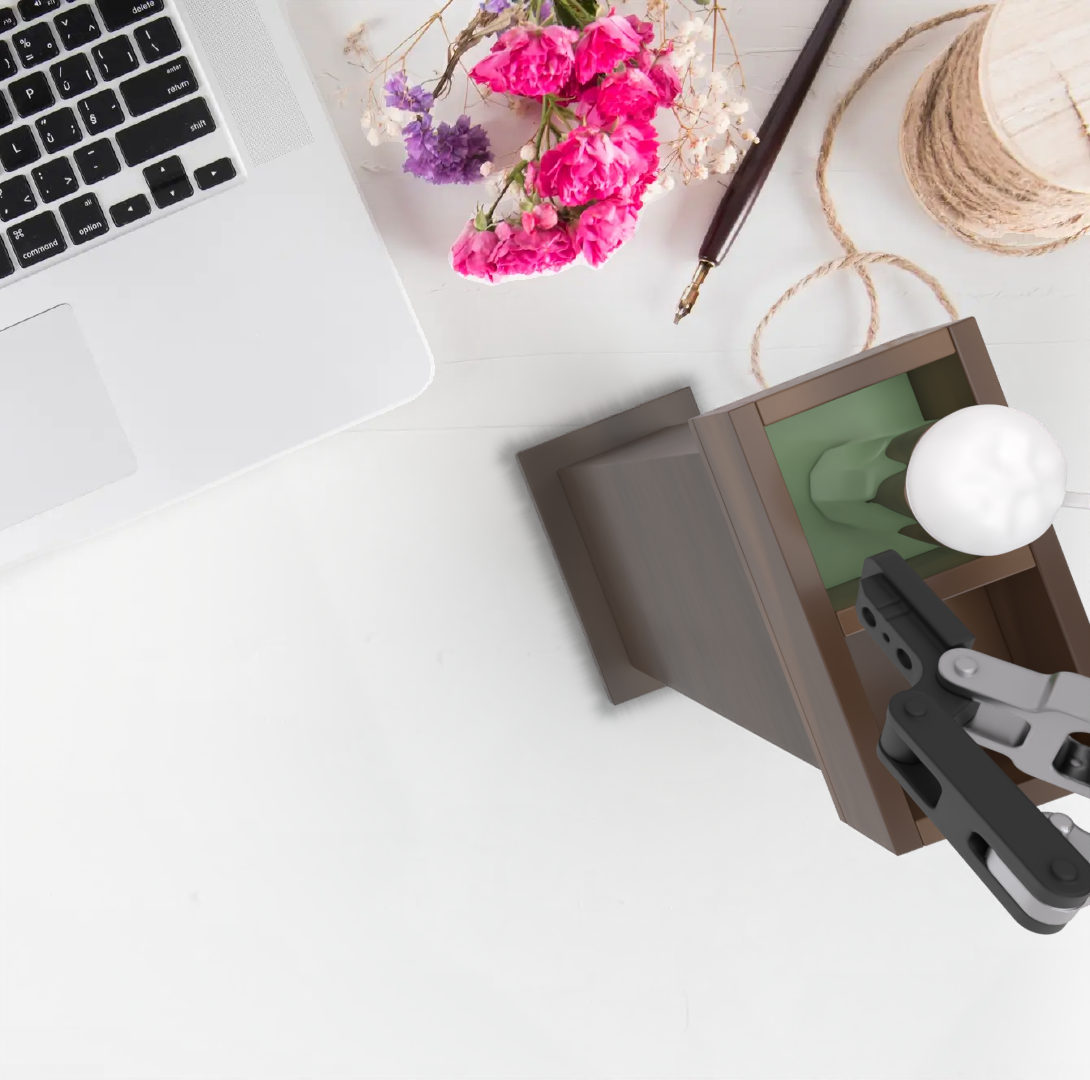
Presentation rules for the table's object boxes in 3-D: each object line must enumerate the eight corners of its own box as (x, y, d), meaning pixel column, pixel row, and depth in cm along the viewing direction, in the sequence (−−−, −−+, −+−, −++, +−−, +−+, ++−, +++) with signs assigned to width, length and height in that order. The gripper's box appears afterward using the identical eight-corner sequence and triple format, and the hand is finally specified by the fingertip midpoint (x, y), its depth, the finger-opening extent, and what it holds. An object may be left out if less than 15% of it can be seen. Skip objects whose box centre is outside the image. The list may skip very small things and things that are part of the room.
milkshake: (913, 562, 39) (1116, 584, 29) (775, 525, 39) (929, 535, 29) (948, 447, 39) (1164, 429, 29) (809, 411, 39) (976, 380, 29)
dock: (907, 334, 39) (975, 314, 35) (1060, 740, 40) (1145, 768, 35) (686, 420, 40) (727, 411, 36) (839, 820, 40) (897, 856, 36)
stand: (684, 387, 67) (940, 307, 39) (781, 639, 67) (1103, 738, 39) (513, 453, 68) (645, 422, 40) (610, 703, 68) (807, 845, 40)
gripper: (2230, 892, 16) (1297, 334, 27) (1342, 1179, 17) (790, 524, 28) (1841, 1026, 22) (1195, 514, 33) (1183, 1239, 22) (773, 669, 34)
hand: (1008, 519), depth 30 cm, fingers open, 8 cm apart
